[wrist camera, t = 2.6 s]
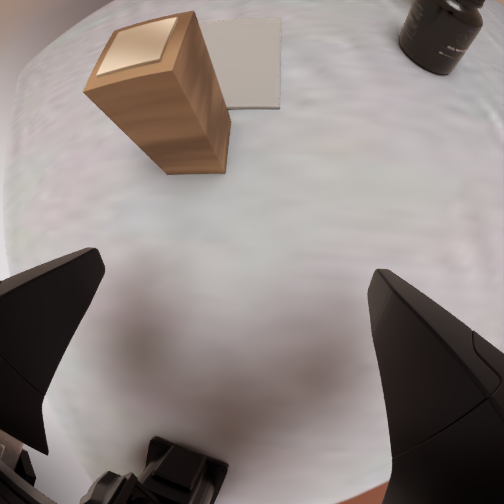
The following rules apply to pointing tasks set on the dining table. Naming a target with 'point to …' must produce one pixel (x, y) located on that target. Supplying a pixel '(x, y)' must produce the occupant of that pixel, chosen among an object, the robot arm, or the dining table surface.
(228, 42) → the felt pad
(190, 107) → the walnut block
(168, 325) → the dining table surface
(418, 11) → the supplement bottle
